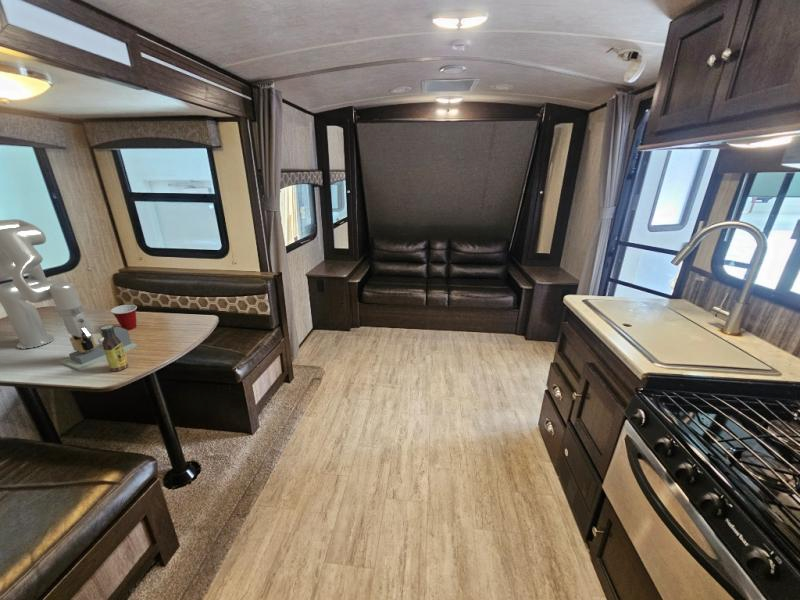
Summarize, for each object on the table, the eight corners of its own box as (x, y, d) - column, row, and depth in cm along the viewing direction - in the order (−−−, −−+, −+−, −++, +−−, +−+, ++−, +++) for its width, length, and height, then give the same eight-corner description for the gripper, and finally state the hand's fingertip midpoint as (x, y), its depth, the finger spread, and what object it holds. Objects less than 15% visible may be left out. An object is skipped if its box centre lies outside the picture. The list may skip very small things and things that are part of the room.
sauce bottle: (125, 371, 141) (111, 330, 133) (108, 373, 139) (92, 331, 132) (132, 362, 146) (118, 323, 139) (115, 364, 145) (101, 324, 137)
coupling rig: (61, 363, 145) (54, 345, 142) (119, 340, 165) (114, 324, 161) (79, 370, 140) (72, 352, 137) (137, 346, 160) (132, 330, 156)
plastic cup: (125, 334, 171) (119, 313, 166) (112, 330, 174) (105, 310, 170) (147, 325, 180) (141, 306, 176) (134, 322, 184) (128, 302, 179)
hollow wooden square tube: (89, 344, 150) (84, 332, 147) (96, 346, 148) (92, 335, 145) (74, 350, 145) (69, 338, 143) (81, 352, 143) (76, 340, 141)
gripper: (93, 311, 140) (106, 348, 146) (70, 304, 146) (84, 340, 152) (71, 318, 133) (86, 356, 140) (48, 310, 139) (64, 347, 146)
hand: (85, 347), depth 146 cm, fingers closed on hollow wooden square tube, 5 cm apart
